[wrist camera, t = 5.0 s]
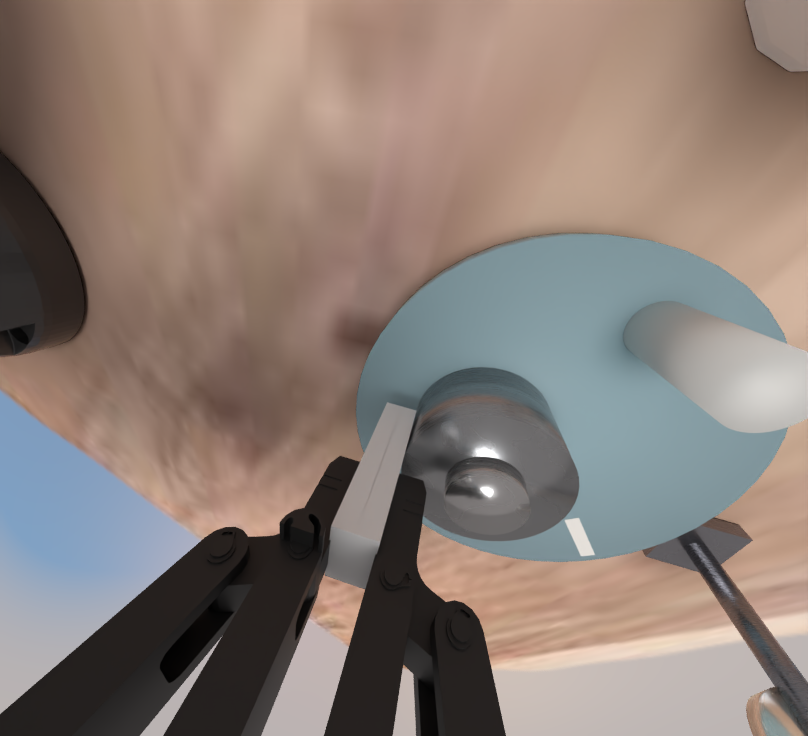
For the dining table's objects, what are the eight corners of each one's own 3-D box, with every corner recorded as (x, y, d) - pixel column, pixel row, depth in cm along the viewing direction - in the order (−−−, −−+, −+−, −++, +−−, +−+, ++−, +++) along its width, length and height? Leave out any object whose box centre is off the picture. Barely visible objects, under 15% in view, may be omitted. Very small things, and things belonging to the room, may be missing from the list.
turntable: (351, 485, 23) (308, 584, 16) (396, 189, 13) (333, 160, 7) (613, 564, 21) (674, 706, 15) (883, 293, 11) (1368, 376, 5)
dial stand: (635, 541, 21) (801, 857, 10) (670, 505, 19) (916, 849, 8) (699, 560, 20) (937, 906, 10) (742, 526, 18) (1089, 909, 8)
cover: (404, 455, 17) (384, 534, 13) (431, 351, 14) (414, 411, 10) (521, 488, 17) (541, 582, 12) (577, 388, 13) (631, 468, 9)
